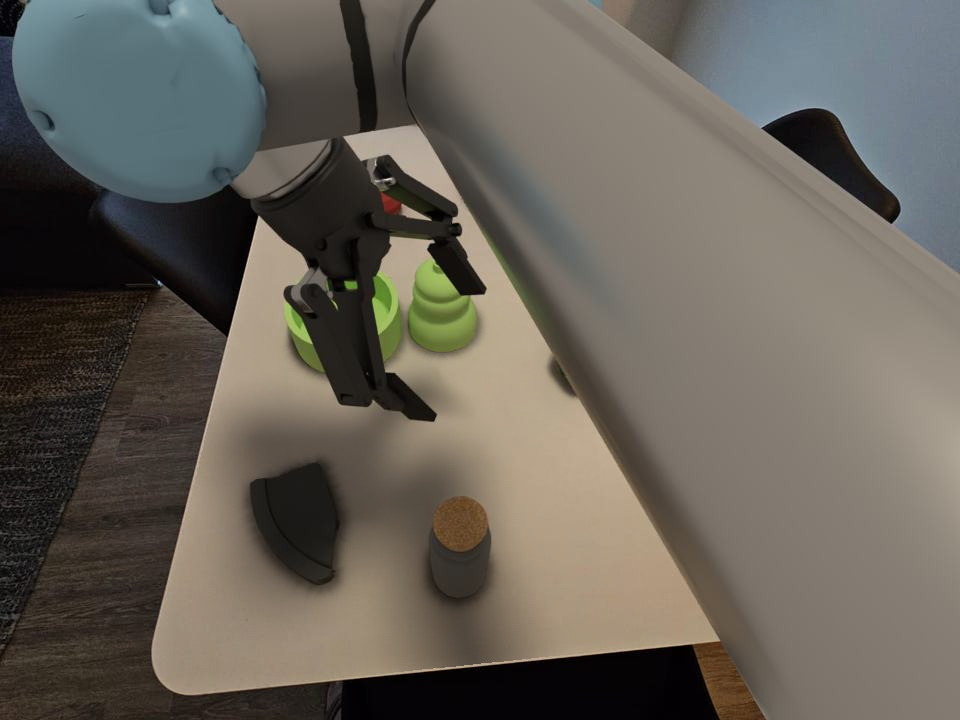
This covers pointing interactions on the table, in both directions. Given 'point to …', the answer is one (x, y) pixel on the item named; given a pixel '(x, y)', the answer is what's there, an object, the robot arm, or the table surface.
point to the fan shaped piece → (298, 520)
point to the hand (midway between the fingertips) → (450, 351)
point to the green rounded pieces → (432, 315)
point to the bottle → (460, 546)
